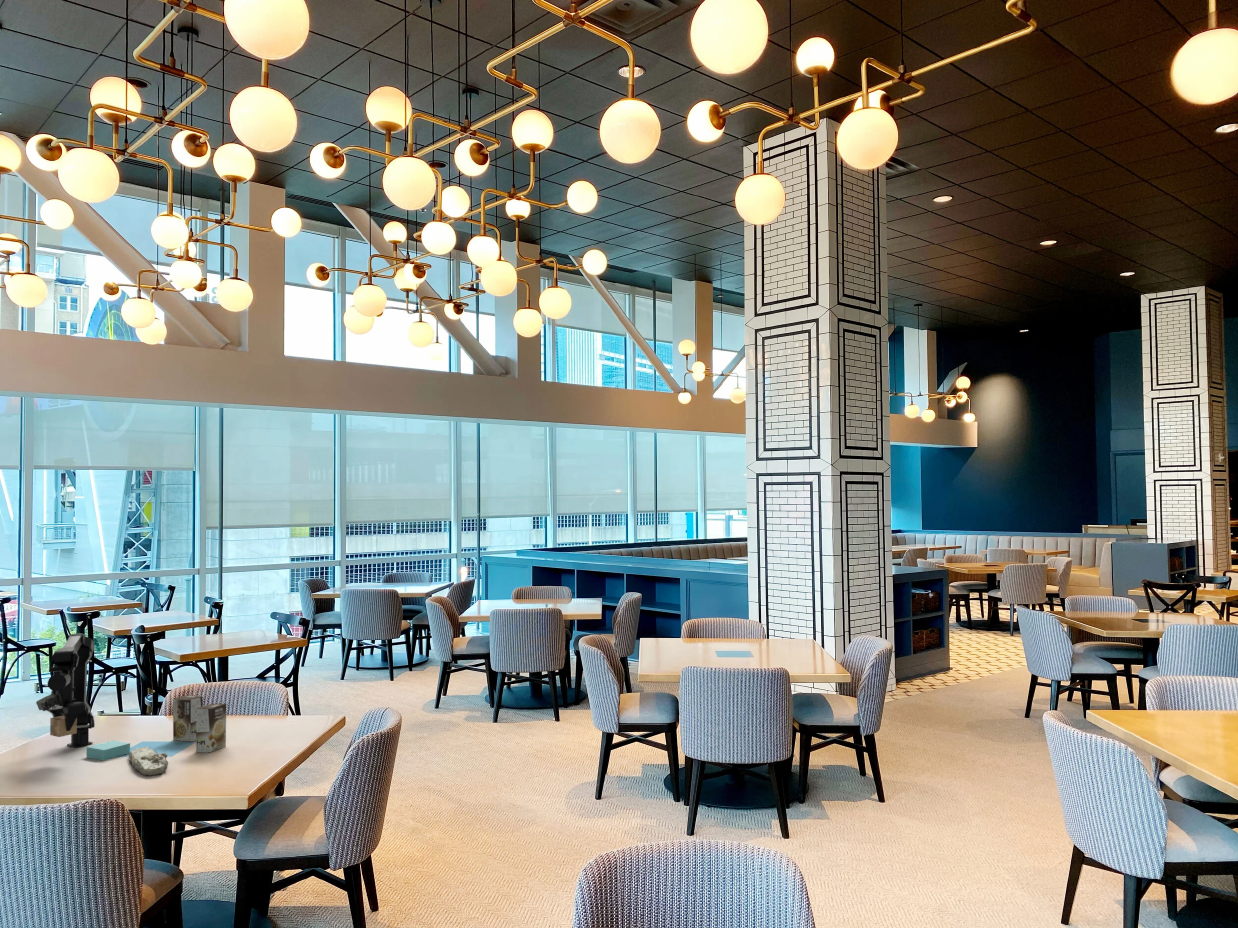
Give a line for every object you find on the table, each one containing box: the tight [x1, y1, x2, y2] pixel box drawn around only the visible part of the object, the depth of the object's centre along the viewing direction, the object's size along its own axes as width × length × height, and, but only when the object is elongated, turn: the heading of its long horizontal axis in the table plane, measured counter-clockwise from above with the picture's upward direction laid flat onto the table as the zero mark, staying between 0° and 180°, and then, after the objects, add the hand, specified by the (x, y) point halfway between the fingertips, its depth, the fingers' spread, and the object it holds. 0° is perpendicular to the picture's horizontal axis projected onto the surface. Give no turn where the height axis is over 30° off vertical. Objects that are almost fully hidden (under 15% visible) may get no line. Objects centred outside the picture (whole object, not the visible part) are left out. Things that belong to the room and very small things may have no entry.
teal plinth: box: [85, 740, 131, 761], centre depth 326 cm, size 10×10×4 cm
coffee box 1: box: [172, 695, 204, 742], centre depth 348 cm, size 9×6×16 cm
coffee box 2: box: [195, 702, 227, 753], centre depth 332 cm, size 9×6×16 cm
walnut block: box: [49, 716, 77, 738], centre depth 318 cm, size 6×6×6 cm
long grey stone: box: [128, 746, 169, 776], centre depth 312 cm, size 35×5×10 cm
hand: (63, 729), depth 318 cm, fingers closed on walnut block, 6 cm apart
